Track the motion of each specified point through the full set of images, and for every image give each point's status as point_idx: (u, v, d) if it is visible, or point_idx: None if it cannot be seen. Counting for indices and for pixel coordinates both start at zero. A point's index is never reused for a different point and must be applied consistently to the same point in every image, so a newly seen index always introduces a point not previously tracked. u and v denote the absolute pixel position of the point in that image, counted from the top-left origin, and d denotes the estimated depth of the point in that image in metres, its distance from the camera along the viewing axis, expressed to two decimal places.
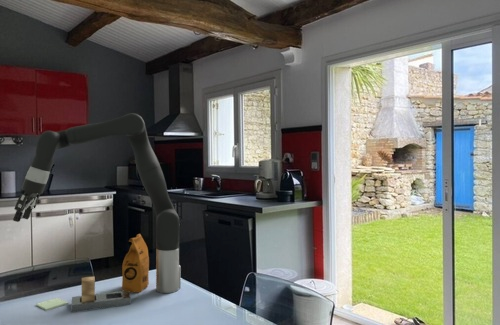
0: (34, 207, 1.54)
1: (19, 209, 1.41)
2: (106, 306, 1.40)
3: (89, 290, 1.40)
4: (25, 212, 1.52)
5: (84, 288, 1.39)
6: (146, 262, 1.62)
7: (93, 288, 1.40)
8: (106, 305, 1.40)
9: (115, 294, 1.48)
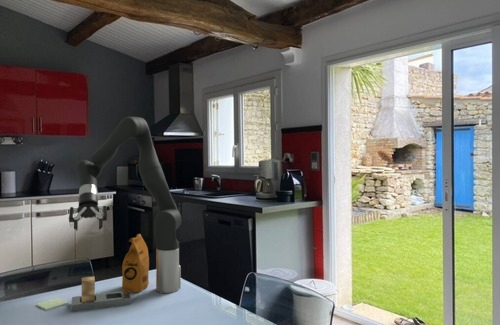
0: (104, 216, 1.57)
1: (69, 218, 1.52)
2: (106, 306, 1.40)
3: (89, 290, 1.40)
4: None
5: (84, 288, 1.39)
6: (146, 262, 1.62)
7: (93, 288, 1.40)
8: (106, 305, 1.40)
9: (115, 294, 1.48)
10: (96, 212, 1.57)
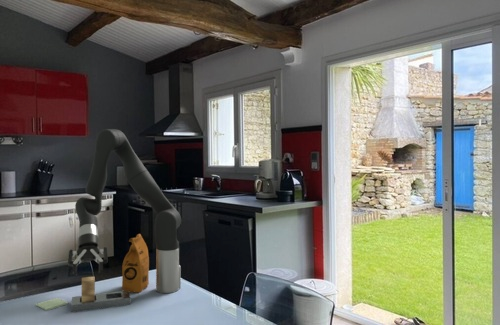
0: (104, 259, 1.51)
1: (68, 262, 1.47)
2: (106, 306, 1.40)
3: (89, 290, 1.40)
4: None
5: (84, 288, 1.39)
6: (146, 262, 1.62)
7: (93, 288, 1.40)
8: (106, 305, 1.40)
9: (115, 294, 1.48)
10: (96, 255, 1.51)
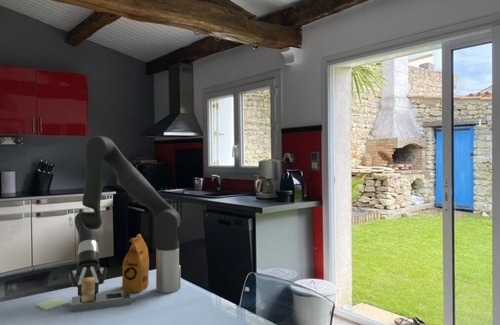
0: (100, 279, 1.44)
1: (72, 283, 1.41)
2: (106, 306, 1.40)
3: (89, 289, 1.40)
4: None
5: (84, 288, 1.39)
6: (146, 262, 1.62)
7: (93, 288, 1.40)
8: (106, 305, 1.40)
9: (115, 294, 1.48)
10: (94, 274, 1.44)
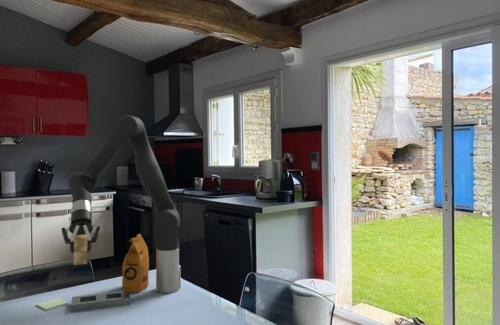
0: (93, 237, 1.44)
1: (65, 240, 1.41)
2: (106, 306, 1.40)
3: (82, 246, 1.40)
4: None
5: (76, 244, 1.39)
6: (146, 262, 1.62)
7: (86, 245, 1.40)
8: (106, 305, 1.40)
9: (115, 294, 1.48)
10: (87, 232, 1.44)
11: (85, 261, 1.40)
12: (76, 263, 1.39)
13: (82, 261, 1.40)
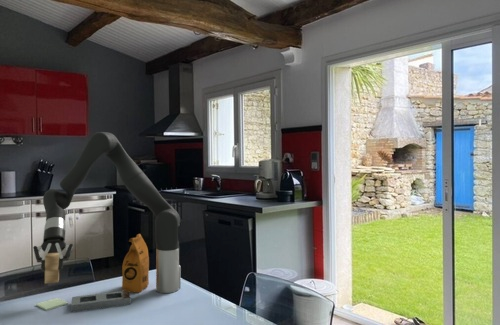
0: (65, 255, 1.45)
1: (36, 258, 1.41)
2: (106, 306, 1.40)
3: (53, 265, 1.40)
4: None
5: (47, 263, 1.40)
6: (146, 262, 1.62)
7: (57, 263, 1.41)
8: (106, 305, 1.40)
9: (115, 294, 1.48)
10: (59, 250, 1.45)
11: (56, 279, 1.41)
12: (47, 282, 1.40)
13: (53, 279, 1.41)
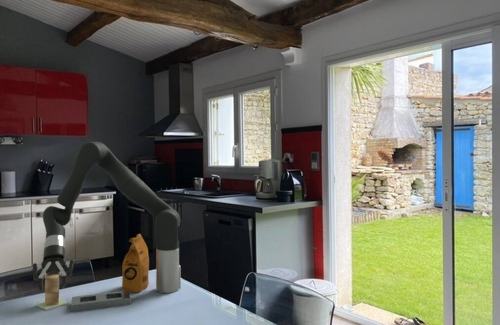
0: (68, 272, 1.45)
1: None
2: (106, 306, 1.40)
3: (53, 287, 1.40)
4: None
5: (47, 285, 1.40)
6: (146, 262, 1.62)
7: (57, 285, 1.41)
8: (106, 305, 1.40)
9: (115, 294, 1.48)
10: (60, 268, 1.45)
11: (57, 302, 1.41)
12: (47, 304, 1.40)
13: (54, 301, 1.41)
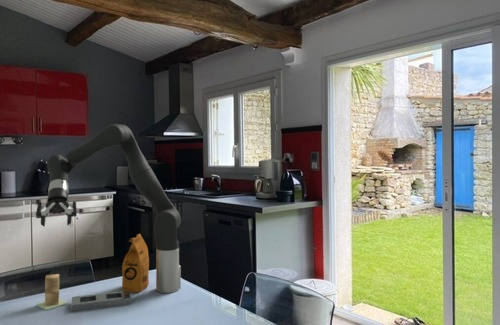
0: (73, 212, 1.53)
1: None
2: (106, 306, 1.40)
3: (53, 287, 1.40)
4: None
5: (47, 285, 1.40)
6: (146, 262, 1.62)
7: (57, 285, 1.41)
8: (106, 305, 1.40)
9: (115, 294, 1.48)
10: (65, 208, 1.53)
11: (57, 302, 1.41)
12: (47, 304, 1.40)
13: (54, 301, 1.41)
